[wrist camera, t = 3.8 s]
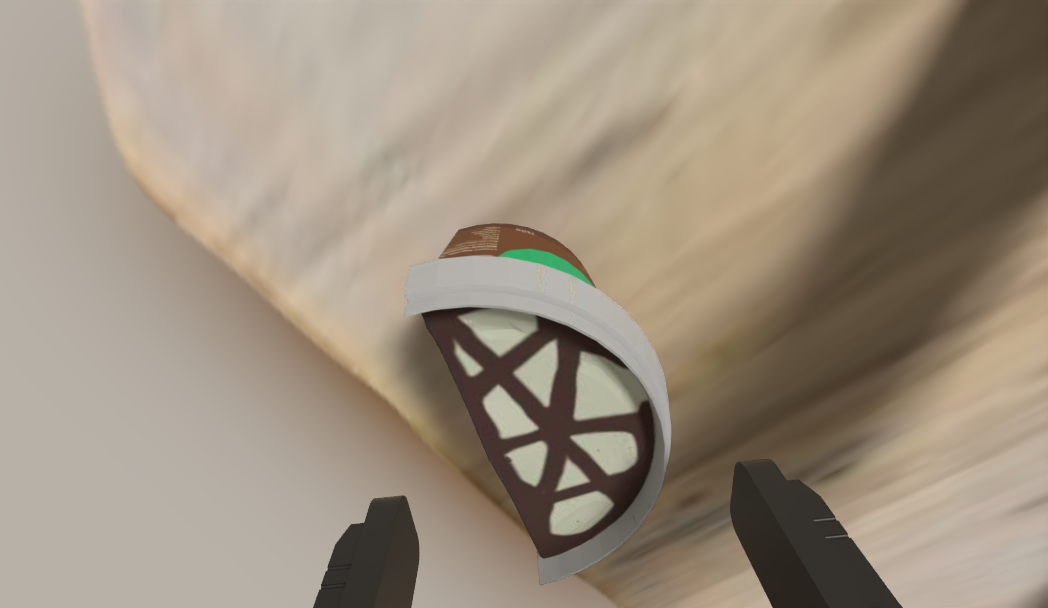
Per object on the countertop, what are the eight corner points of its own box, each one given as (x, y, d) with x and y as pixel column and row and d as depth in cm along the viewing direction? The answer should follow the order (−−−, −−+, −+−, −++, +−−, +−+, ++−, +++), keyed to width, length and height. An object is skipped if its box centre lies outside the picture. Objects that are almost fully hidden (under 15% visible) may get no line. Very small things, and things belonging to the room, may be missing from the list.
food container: (646, 382, 26) (718, 554, 17) (534, 413, 26) (544, 594, 17) (582, 150, 20) (635, 217, 11) (445, 198, 21) (393, 296, 12)
